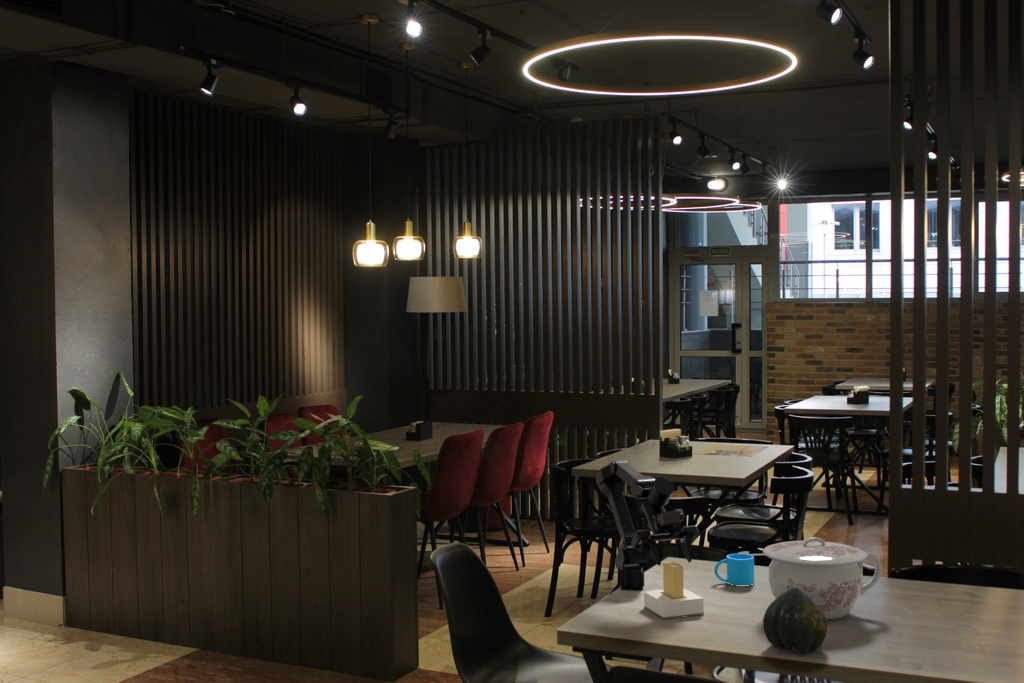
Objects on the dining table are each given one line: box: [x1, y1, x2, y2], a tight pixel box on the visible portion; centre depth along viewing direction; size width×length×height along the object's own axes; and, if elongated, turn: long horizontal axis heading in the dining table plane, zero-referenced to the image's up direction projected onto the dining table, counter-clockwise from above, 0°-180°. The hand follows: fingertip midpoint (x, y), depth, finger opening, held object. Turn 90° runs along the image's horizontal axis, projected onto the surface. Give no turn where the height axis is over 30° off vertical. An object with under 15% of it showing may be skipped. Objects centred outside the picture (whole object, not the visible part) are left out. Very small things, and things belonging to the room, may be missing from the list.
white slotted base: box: [643, 587, 705, 620], centre depth 277 cm, size 12×12×4 cm
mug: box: [714, 553, 755, 585], centre depth 306 cm, size 12×8×8 cm
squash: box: [762, 587, 828, 655], centre depth 244 cm, size 14×15×15 cm
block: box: [662, 560, 684, 599], centre depth 277 cm, size 6×3×12 cm, turn 19°
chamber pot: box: [762, 536, 883, 621], centre depth 272 cm, size 28×28×21 cm
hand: (675, 563), depth 276 cm, fingers open, 9 cm apart
